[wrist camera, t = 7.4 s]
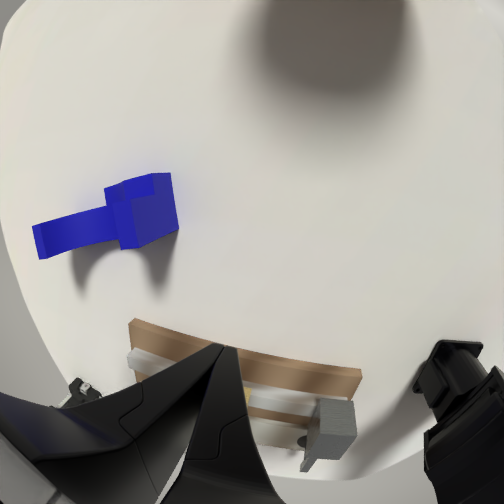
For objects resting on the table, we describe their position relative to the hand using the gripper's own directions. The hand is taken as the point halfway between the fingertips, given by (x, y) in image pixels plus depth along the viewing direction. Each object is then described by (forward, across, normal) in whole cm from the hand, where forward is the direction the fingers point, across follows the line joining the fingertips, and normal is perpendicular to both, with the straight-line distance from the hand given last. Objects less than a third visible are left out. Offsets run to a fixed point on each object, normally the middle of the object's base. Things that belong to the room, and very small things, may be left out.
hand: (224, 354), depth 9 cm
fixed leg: (+10, -8, +16) cm, 20 cm away
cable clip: (+12, +14, -1) cm, 19 cm away
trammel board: (+12, +1, +16) cm, 20 cm away
